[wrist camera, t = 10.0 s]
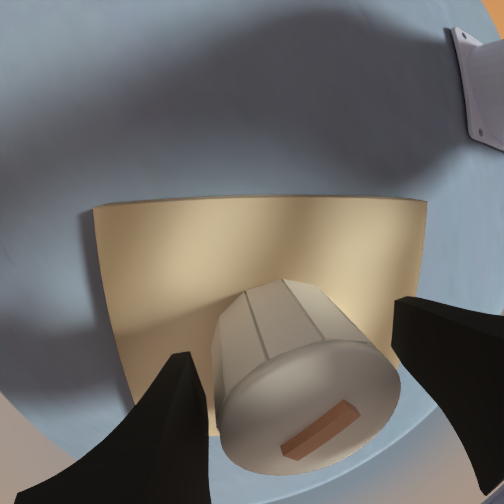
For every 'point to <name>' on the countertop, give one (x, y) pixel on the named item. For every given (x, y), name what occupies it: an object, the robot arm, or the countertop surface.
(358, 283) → the post board
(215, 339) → the cream short cylinder
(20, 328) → the countertop surface
